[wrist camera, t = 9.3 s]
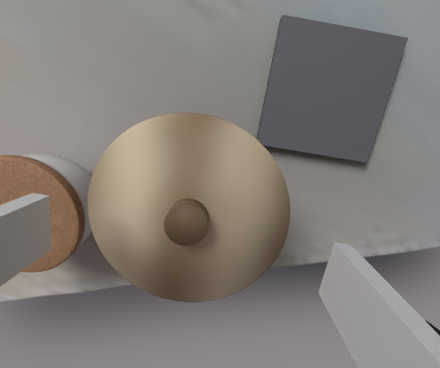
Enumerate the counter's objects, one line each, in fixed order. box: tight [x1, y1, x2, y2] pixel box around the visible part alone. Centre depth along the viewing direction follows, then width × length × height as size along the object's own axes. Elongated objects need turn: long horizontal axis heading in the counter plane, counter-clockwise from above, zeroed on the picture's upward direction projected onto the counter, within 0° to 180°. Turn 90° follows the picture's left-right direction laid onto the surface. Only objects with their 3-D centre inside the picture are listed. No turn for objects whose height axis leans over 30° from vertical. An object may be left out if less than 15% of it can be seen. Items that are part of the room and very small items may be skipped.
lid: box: [87, 113, 290, 302], centre depth 15 cm, size 12×12×4 cm
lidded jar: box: [0, 153, 92, 272], centre depth 23 cm, size 11×11×9 cm
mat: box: [257, 15, 408, 163], centre depth 24 cm, size 12×12×1 cm
